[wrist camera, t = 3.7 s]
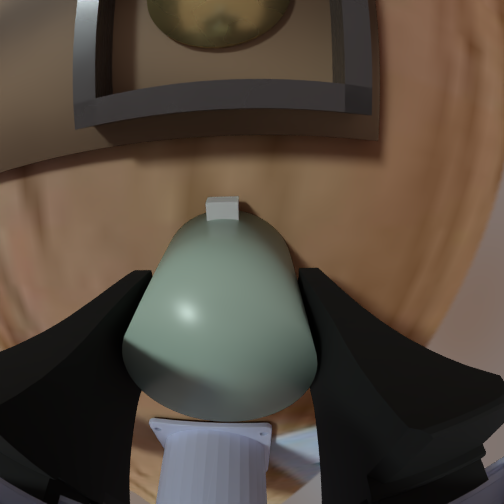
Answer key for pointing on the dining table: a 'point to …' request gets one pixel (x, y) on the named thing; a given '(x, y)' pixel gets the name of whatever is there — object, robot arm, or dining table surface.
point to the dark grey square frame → (218, 36)
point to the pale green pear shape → (222, 321)
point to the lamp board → (160, 79)
